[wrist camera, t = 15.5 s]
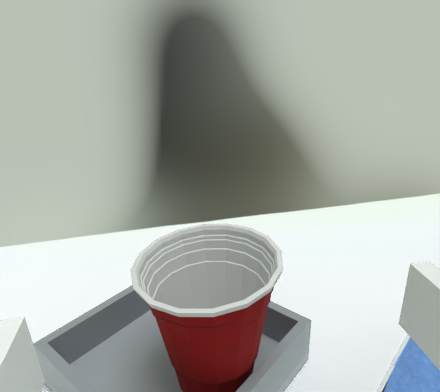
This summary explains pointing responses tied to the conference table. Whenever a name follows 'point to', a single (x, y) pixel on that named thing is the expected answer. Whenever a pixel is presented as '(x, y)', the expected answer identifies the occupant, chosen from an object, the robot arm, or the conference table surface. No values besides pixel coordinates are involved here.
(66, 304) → the conference table surface
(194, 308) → the plastic cup
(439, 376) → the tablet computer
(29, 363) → the robot arm
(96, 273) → the conference table surface
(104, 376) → the bin
